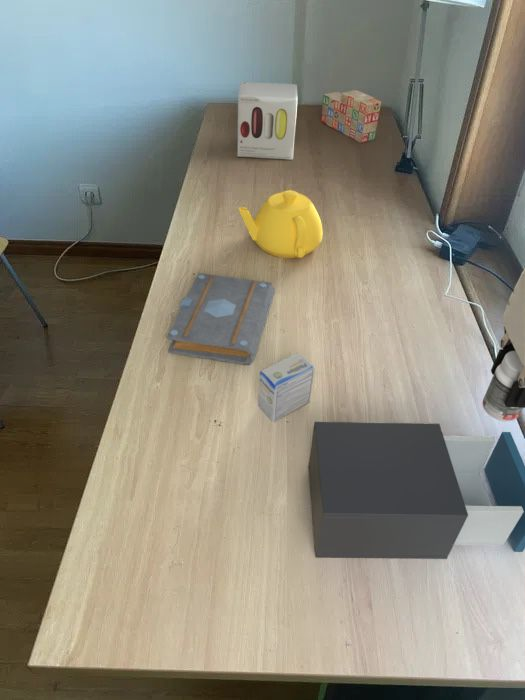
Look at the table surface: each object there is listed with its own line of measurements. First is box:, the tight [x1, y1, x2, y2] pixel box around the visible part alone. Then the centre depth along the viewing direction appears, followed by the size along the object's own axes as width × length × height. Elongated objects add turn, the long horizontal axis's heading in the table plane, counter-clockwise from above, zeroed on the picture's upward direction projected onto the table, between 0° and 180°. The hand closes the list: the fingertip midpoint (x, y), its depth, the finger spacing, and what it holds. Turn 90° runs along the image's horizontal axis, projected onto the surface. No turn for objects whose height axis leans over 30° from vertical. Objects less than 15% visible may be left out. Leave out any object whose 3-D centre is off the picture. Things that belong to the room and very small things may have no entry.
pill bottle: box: [481, 351, 524, 422], centre depth 70 cm, size 5×5×8 cm
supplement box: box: [236, 81, 299, 161], centre depth 169 cm, size 17×13×18 cm
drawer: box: [443, 431, 525, 553], centre depth 77 cm, size 22×13×9 cm, turn 90°
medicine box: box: [258, 352, 315, 423], centre depth 92 cm, size 8×4×9 cm, turn 126°
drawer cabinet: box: [307, 421, 468, 560], centre depth 77 cm, size 18×15×11 cm
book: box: [165, 272, 276, 366], centre depth 109 cm, size 21×16×5 cm
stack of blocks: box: [320, 89, 382, 144], centre depth 185 cm, size 21×6×12 cm, turn 33°
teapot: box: [238, 189, 323, 259], centre depth 129 cm, size 20×19×13 cm
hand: (510, 388), depth 71 cm, fingers closed on pill bottle, 4 cm apart
